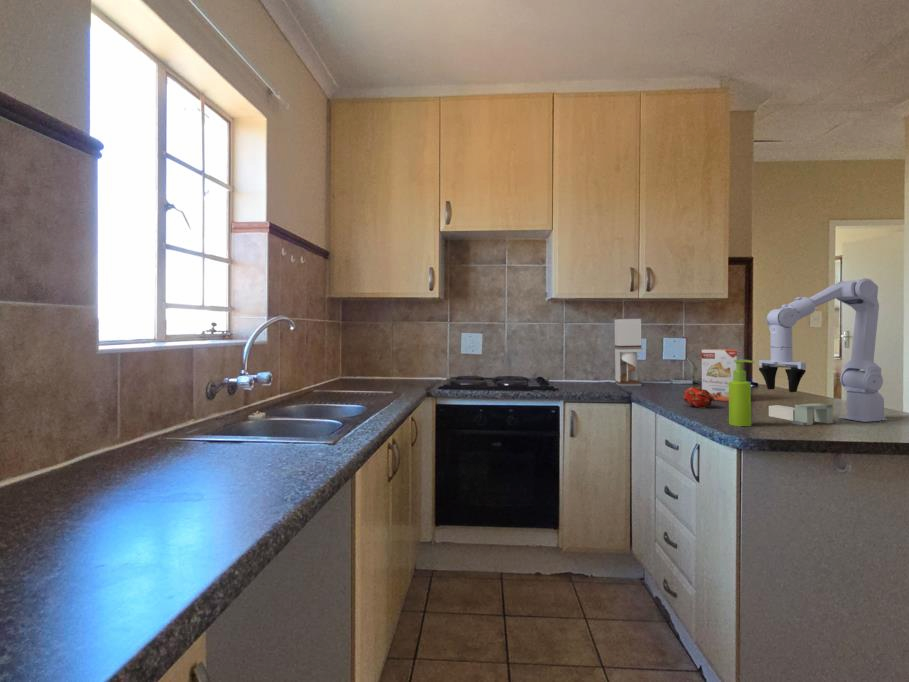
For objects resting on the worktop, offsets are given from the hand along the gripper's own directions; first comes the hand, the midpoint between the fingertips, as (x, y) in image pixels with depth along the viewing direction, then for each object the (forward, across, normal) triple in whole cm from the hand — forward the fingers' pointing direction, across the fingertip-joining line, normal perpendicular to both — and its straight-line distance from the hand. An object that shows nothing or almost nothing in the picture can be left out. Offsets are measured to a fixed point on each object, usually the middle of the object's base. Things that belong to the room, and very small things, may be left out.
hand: (781, 390), depth 155 cm
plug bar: (+10, -5, +8) cm, 13 cm away
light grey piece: (+10, -108, +20) cm, 110 cm away
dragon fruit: (+10, -34, -1) cm, 35 cm away
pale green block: (+10, +4, +7) cm, 13 cm away
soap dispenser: (+10, -1, -15) cm, 18 cm away
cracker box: (+10, -44, +20) cm, 50 cm away
